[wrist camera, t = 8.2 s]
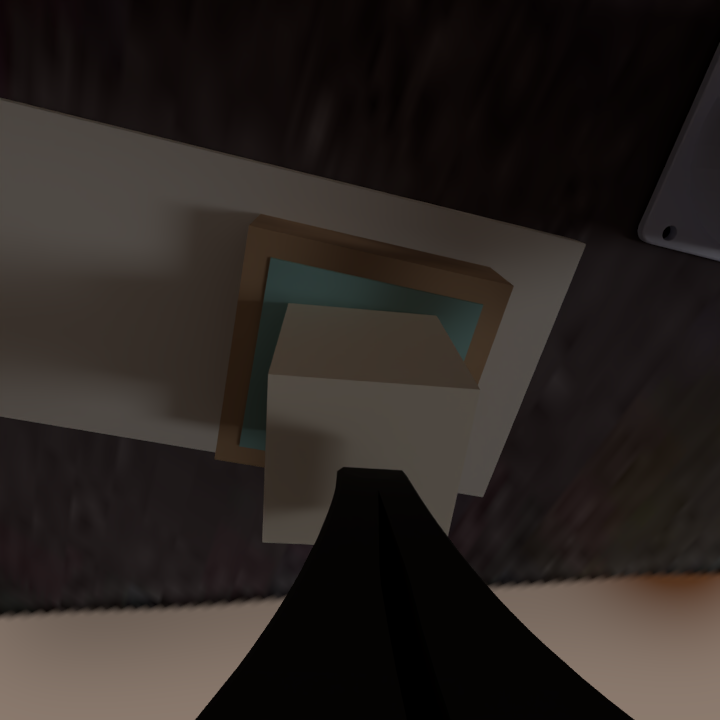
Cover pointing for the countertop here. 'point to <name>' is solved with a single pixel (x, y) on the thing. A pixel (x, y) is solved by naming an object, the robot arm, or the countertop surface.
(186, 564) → the countertop surface
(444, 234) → the baseplate
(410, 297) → the walnut block
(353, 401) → the cream block
